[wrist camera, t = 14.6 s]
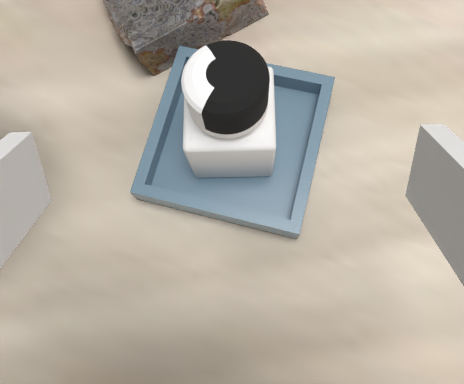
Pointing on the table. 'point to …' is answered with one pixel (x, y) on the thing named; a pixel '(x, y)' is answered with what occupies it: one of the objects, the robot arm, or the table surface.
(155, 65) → the geological specimen
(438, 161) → the robot arm
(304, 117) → the tray
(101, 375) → the table surface
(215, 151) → the medicine bottle
